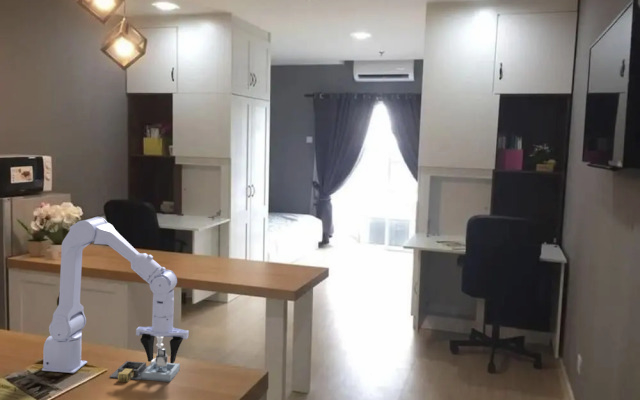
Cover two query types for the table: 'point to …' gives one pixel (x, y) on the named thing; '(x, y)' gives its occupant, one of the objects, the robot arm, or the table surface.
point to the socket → (131, 365)
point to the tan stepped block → (125, 375)
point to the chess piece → (158, 346)
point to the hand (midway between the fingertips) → (161, 361)
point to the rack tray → (157, 376)
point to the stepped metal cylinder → (161, 361)
